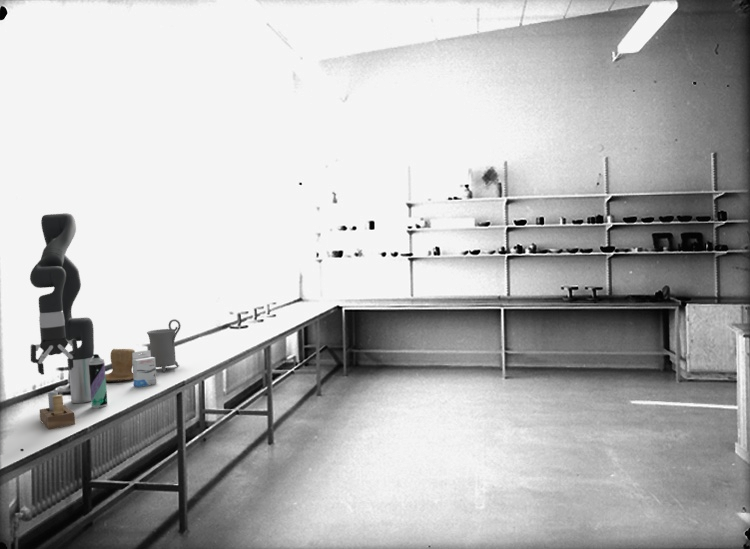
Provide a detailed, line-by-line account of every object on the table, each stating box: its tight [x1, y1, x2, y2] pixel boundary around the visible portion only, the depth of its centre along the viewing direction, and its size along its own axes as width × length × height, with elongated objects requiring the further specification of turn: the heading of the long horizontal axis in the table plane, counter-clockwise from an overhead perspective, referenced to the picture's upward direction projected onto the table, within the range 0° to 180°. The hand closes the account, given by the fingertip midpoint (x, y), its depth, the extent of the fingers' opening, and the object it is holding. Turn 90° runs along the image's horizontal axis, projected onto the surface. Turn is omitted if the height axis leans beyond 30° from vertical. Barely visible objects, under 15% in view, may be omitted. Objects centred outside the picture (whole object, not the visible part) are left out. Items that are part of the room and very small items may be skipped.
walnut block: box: [39, 404, 76, 430], centre depth 206 cm, size 15×8×4 cm, turn 39°
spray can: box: [89, 353, 108, 409], centre depth 226 cm, size 6×6×20 cm
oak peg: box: [53, 394, 64, 415], centre depth 203 cm, size 3×3×10 cm
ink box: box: [132, 349, 158, 388], centre depth 261 cm, size 9×5×15 cm, turn 133°
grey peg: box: [47, 390, 59, 411], centre depth 209 cm, size 3×3×10 cm
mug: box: [146, 318, 182, 373], centre depth 294 cm, size 19×15×25 cm
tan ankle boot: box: [105, 348, 136, 383], centre depth 273 cm, size 15×12×15 cm
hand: (56, 371), depth 203 cm, fingers open, 8 cm apart
